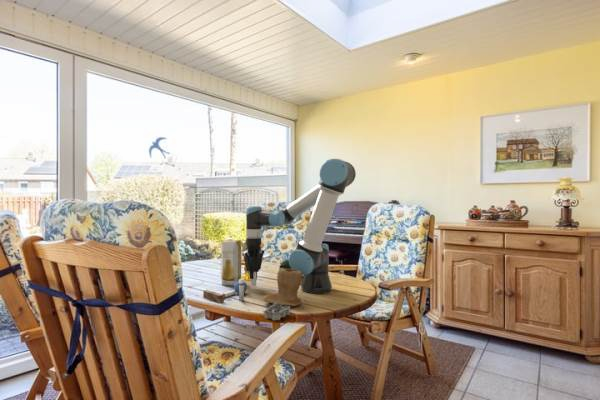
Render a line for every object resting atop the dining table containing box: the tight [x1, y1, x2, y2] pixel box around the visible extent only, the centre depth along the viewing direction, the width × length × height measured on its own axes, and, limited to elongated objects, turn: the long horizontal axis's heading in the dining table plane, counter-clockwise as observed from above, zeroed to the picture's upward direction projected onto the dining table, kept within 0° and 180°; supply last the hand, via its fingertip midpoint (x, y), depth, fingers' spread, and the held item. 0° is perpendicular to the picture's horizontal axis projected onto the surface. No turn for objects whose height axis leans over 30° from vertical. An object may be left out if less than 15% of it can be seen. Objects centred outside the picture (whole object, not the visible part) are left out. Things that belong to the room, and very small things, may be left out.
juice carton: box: [220, 237, 242, 286], centre depth 173 cm, size 9×8×24 cm
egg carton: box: [262, 301, 291, 321], centre depth 127 cm, size 11×8×4 cm
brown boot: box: [262, 268, 303, 307], centre depth 141 cm, size 15×12×15 cm
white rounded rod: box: [238, 278, 245, 302], centre depth 145 cm, size 2×2×9 cm
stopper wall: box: [202, 289, 225, 304], centre depth 146 cm, size 12×2×3 cm, turn 50°
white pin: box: [221, 289, 237, 299], centre depth 150 cm, size 2×2×9 cm
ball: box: [233, 281, 248, 294], centre depth 156 cm, size 6×6×6 cm
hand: (253, 285), depth 164 cm, fingers closed
